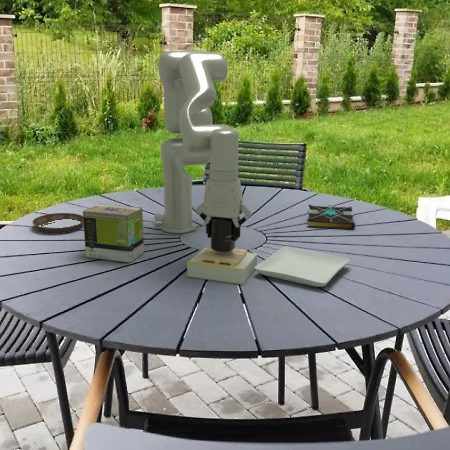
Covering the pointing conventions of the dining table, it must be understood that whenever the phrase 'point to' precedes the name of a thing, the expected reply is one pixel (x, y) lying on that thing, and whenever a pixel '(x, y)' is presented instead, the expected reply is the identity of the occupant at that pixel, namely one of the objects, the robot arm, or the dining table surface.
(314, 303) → the dining table surface
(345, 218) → the book
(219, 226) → the supplement bottle
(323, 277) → the salad plate
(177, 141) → the robot arm
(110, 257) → the tea box
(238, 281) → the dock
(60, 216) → the plant saucer
